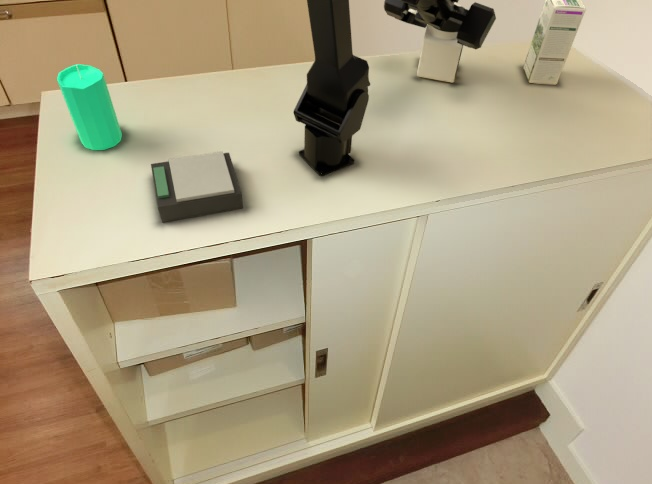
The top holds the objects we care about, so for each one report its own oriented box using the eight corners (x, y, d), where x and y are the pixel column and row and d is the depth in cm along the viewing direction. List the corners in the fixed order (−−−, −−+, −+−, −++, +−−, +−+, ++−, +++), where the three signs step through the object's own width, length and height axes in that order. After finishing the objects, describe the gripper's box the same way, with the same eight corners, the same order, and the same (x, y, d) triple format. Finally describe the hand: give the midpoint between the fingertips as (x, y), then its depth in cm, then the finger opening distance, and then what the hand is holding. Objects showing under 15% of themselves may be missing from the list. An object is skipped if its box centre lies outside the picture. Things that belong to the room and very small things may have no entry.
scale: (161, 222, 71) (156, 203, 68) (154, 179, 76) (149, 160, 74) (243, 208, 74) (241, 190, 71) (230, 167, 79) (228, 148, 76)
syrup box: (557, 85, 101) (589, 8, 90) (527, 83, 101) (555, 5, 89) (550, 69, 104) (580, -7, 93) (521, 67, 104) (547, -9, 93)
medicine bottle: (454, 83, 98) (470, 17, 89) (416, 76, 99) (428, 10, 90) (456, 66, 103) (472, 2, 94) (420, 60, 103) (432, -5, 95)
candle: (78, 130, 82) (51, 57, 73) (119, 123, 84) (96, 51, 75) (83, 153, 79) (54, 80, 70) (125, 146, 81) (102, 73, 71)
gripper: (509, -44, 78) (516, 8, 92) (402, -78, 84) (425, -25, 98) (471, 28, 79) (484, 67, 94) (369, -11, 86) (396, 32, 100)
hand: (447, 33), depth 96 cm, fingers open, 9 cm apart
